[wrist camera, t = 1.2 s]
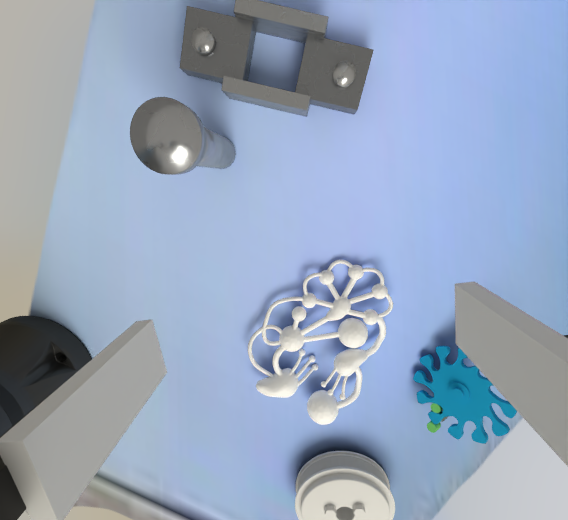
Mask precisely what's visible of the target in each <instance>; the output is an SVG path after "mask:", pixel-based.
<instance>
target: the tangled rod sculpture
mask: <svg viewBox="0 0 568 520" xmlns="http://www.w3.org/2000/svg"><path fill="white" fill-rule="evenodd" d="M339 263H342V264H345V265H347V266H349V267H350V268H349V270H348V275H349V277H350V278H351V279H350V281H349V283H348V285H347V286H346V288H345V290H344V292H343V293H342V295H341V296H339V294H338V292H337V291H336V289H335V287H334V285H333V284H332V282H333V281H334V275H333V273H332V272H331V269H332V268H333V267H334V266H335V265H336V264H339ZM365 271H371V272H374V273H376V274H378V276H379V278H380V284H376V285H374V286H373V287H372V292H370V293H367V294H364V295H360V296H357V297H354V298H351V299H347V297H348V295H349V293H350V291H351V289H352V288H353V286H354V284H355V282H356V281H357V280H358V279H360V278H361V277H362V276H363V274H364V272H365ZM317 276H319V280H320V282H321V283H322V284H324V285H327V286H328V287H329V289H330V291H331V293H332V294H333V296H334V298H335V300H334V302H333V303H331V302H327V301H323V300H320V299H316V296H315V295H314V294H312V293H308V292H307V287H306V286H307V282H308V281H309V280H310V279H311V278H313V277H317ZM303 291H304V295H303V297H288V298H283V299H280V300H277V301H276V302H274V303H273V304H272V305H271V306H270V307H269V309H268V311H267V313H266V316H265V319H264V323H263V327H261V328H260V329H258V330H257V331H256V332H255V333H254V334H253V335H252V337H251V338H250V341H249V343H248V354H249V358H250V360H251V362H252V364H253V365H254V366H255V367H256V368H257V369H258V370H260V371H261V372H263V373H264V374H266V375H267V376H269V377H267V378H264V379H262V380H259V381H258V382H257V384H256V388H257V390H258V391H259V392H260V393H262V394H264V395H266V396H270V397H283V398H285V397H290V396H291V395H293V394H294V393H295V392H296V390H297V388H298V386H299V385H300V384H301V383H302V382H303V381H304V380H305V379H306V378H307V377H308V376H309V375H310V374H311V373H312V371H313V370H317V369H318V365H317V364H313V365H312V368H311V369H310V370H309V371H308V372H307V374H306V375H305V376H304V377H303V378H302V379H301V380H300V381H299V382H298V377H299V376H300V375H301V374H302V372H303V371H304V370H305V369H306V368H307V366H308V365H309V364H310V362H314V361H315V357H314V356H310V357H309V360H308V361H307V363H306V364H305V365H304V366H303V368H302V369H301V370H300V371H299V372H298V373H297V374H295V373H294V371H295V370H296V368H297V367H298V365H299V363H300V361H301V358H302V356H303V355H305V350H304V349H300V348H302V346H303V344H304V342H309V341H316V340H322V339H329V338H336V337H339V339H340V341H341V342H342V343H343V344H344V345H345V346H347V347H350V348H351V349H347V350H345V351H342V352H340V353H339V354H337V355H336V357H335V359H334V370H333V371H332V373H331V374H330V376H329V377H328V379H327V380H326V381H323V382H321V386H322V387H326V385H327V383H328V382H329V380H330V379H331V378H332V376H333V375H334V373H335V372H336V371H337V373H338V374H339V375H338V377H337V380H336V382H335V384H334V386H333V388H332V389H330V390H328V391H325V390H319V391H316V392H314V393H313V394H312V395H311V396H310V398H309V399H308V403H307V410H308V413H309V416H310V417H311V419H312V420H313V421H315V422H316V423H318V424H321V425H326V424H329V423H331V422H333V421H334V420H335V418H336V416H337V415H338V410H339V408H342V407H344V406H346V405H348V404H351V403H352V402H353V401H354V400H356V398H357V397H358V395H359V393H360V390H361V384H362V372H361V369H360V368H359V366H360V365H361V364H362V363H363V362H364V361H365V360H367V358H368V356H370V355H372V354H374V353H375V352H376V351H377V350H378V349H379V347H380V345H381V343H382V341H383V340H384V338H385V335H386V325H385V322H384V320H383V318H382V317H384V316H386V315H387V314H389V313H390V311H391V310H392V308H393V302H392V299H391V297H390V296H389V294H388V290H387V288H386V286H385V285H384V277H383V275H382V273H381V272H380V271H379V270H377V269H375V268H362V267H361V266H359V265H352V264H351V263H349V262H348V261H345V260H341V259H340V260H336V261H334V262H333V263H331V265H330V266H329V267H328V269H327V270H323V271H322V272H321V273H313V274H311V275H309V276H308V277H307V278H306V279H305V280H304V282H303ZM372 297H375V298H377V299H383V298H384V297H386V298H387V299H388V301H389V307H388V309H387V310H386V311H385V312H383V313H380V314H377V312H376V311H375V310H372V309H368V310H366V311H365V312H364V313H363V312H359V311H355V310H350V309H351V304H353V303H356V302H359V301H363V300H366V299H369V298H372ZM288 301H302V303H303V305H304V306H305V307H307V308H312V307H314V306H315V304H318V305H322V306H326V307H329V308H331V309H330V310H329V311H328V313H327V315H326V316H325V317H323V318H322V319H320V320H318V321H317V322H315V323H313V324H311V325H310V326H308V327H306V328H304V329H303V330H301V329H300V328H299V327H298V324H299V321H303V320H304V319H305V318H306V310H305V309H304V308H303V307H300V306H297V307H295V308H294V309H293V310H292V317H293V319H294V323H293V326H287V327H285V328H284V329H283V330H281V328H279V327H277V326H275V325H267V323H268V320H269V317H270V313H271V311H272V310H273V308H274V307H275V306H276V305H278V304H281V303H283V302H288ZM346 314H349V315H353V316H357V317H361V318H363V320H364V322H365V323H366V324H369V325H373V324H375V323H376V322H378V324H379V330H380V332H379V335H378V337H377V339H376V341H375V342H374V344H373V346H372V347H371V348H369V349H368V350H366V351H365V350H361V349H354V348H358V347H360V346H362V345H363V344H364V343H365V342H366V340H367V337H368V330H367V327H366V325H365V324H364V323H363V322H362V321H361V320H359V319H356V318H348V319H346V320H344V321H343V322H342V323H341V324H340V326H339V328H338V332H334V333H327V334H321V335H314V336H308V337H305V336H304V334H306V333H308V332H310V331H311V330H313V329H315V328H317V327H318V326H320V325H322V324H324V323H325V322H327V321H333V320H339V319H341V318H343V317H344V316H345V315H346ZM270 328H271V329H275V330H277V331H278V332H279V334H280V337H279V341H275V342H272V341H269V340H268V339H267V337H266V329H270ZM261 332H262V337H263V340H264V342H265V343H266V344H268V345H273V346H275V345H281V346H280V347H279V348H278V349H277V350H276V351H275V353H274V356H273V359H272V364H273V368H274V370H275V372H276V373H275V374H272V373H270V372H268V371H267V370H265V369H264V368H262V367H260V366H259V365H258V364H257V362H256V361H255V360H254V357H253V355H252V344H253V341H254V339H255V338H256V336H257V335H258V334H260V333H261ZM299 349H300V350H299ZM285 350H287V351H290V352H294V351H297V350H299V354H300V355H299V358H298V361H297V362H296V364H295V366H294V367H293V368H292V370H291V369H290V368H285V369H283V370H281V368H280V367H279V363H278V360H279V357H280V355H281V354H282V352H283V351H285ZM354 372H355V373H356V383H355V389H354V391H353V393H352V394H351V395H350V396H349V397H348V398H346V399H345V394H344V392H345V384H346V381H347V378H348V376H350V375H352V374H353V373H354ZM341 375H342V376H345V378H344V381H343V385H342V394H340V399H342V401H339V402H337V400H336V398H335V396H334V395H333V391H334V389H335V388H336V386H337V384H338V382H339V380H340V378H341Z"/></svg>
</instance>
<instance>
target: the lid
mask: <svg viewBox="0 0 568 520" xmlns="http://www.w3.org/2000/svg"><path fill="white" fill-rule="evenodd" d="M296 493H297V494H296V499H295V509H296V513H297V516H298V518H299V520H392V519H393V517H394V513H395V503H394V498H393V495H392V493H391V491H390V484H389V480H388V477H387V475H386V473H385V472H384V470H383V469H382V468H381V467H380V465H378V464H377V463H376V462H375V461H373V460H372V459H370V458H369V457H367V456H364V455H362V454H359V453H355V452H351V451H331V452H327V453H323V454H320V455H318V456H316V457H314V458H312V459H311V460H309V461H308V462H307V463H306V464H305V465H304V466H303V467H302V468H301V470H300V472H299V473H298V476H297V479H296Z"/></svg>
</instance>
